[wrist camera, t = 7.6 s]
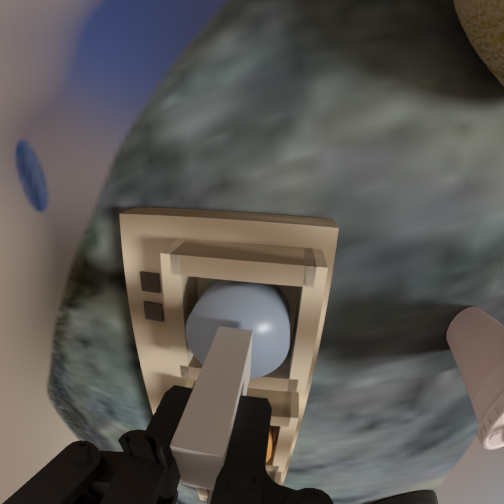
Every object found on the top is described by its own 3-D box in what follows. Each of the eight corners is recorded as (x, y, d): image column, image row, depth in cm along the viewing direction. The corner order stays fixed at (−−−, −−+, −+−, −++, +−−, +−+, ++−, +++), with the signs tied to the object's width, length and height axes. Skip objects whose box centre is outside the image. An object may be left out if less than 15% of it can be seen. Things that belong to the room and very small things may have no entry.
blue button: (285, 354, 17) (283, 383, 14) (201, 344, 17) (189, 371, 15) (294, 276, 15) (295, 299, 13) (198, 267, 15) (182, 288, 13)
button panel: (280, 482, 26) (277, 513, 22) (179, 466, 27) (168, 495, 23) (333, 219, 16) (347, 242, 12) (135, 206, 18) (94, 224, 13)
